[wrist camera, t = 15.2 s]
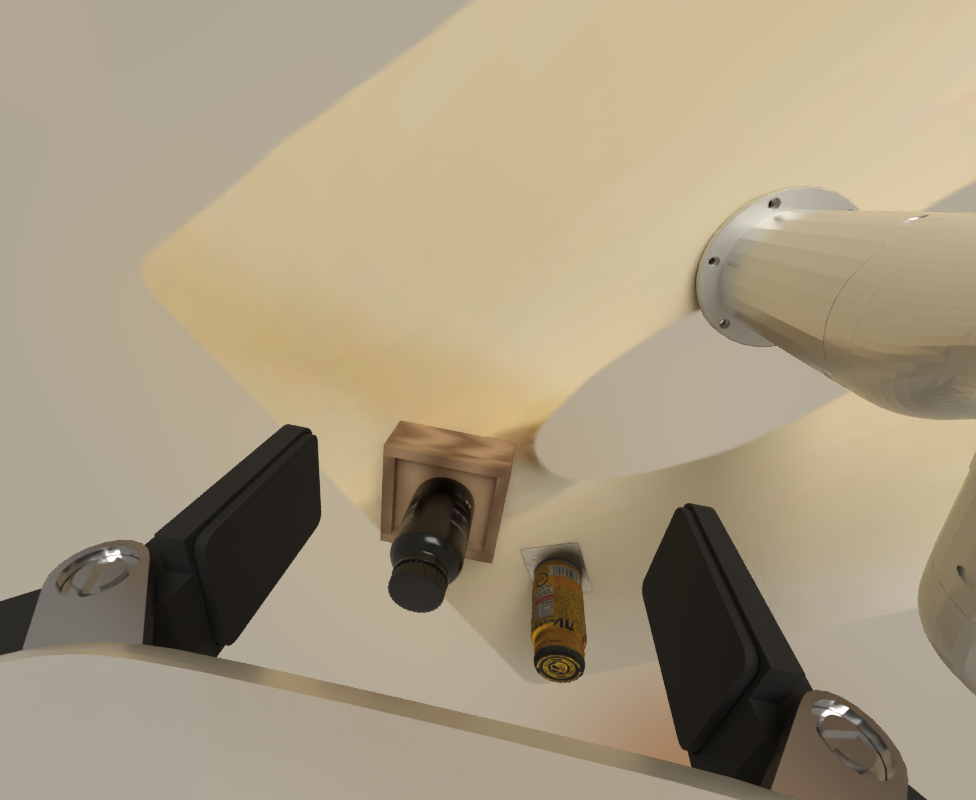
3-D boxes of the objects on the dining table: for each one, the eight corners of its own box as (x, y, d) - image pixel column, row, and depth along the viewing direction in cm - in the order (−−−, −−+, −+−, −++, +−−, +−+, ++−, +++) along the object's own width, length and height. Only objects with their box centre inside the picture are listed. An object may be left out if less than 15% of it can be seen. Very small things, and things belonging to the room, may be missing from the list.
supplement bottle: (432, 530, 47) (397, 627, 36) (404, 483, 44) (358, 572, 34) (486, 516, 45) (467, 614, 34) (460, 467, 42) (431, 556, 32)
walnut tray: (514, 443, 45) (511, 470, 40) (496, 530, 51) (491, 563, 46) (400, 420, 46) (383, 445, 41) (395, 509, 51) (380, 540, 47)
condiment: (537, 595, 55) (534, 690, 44) (520, 548, 52) (513, 639, 41) (591, 589, 53) (603, 687, 42) (578, 541, 50) (586, 633, 39)
